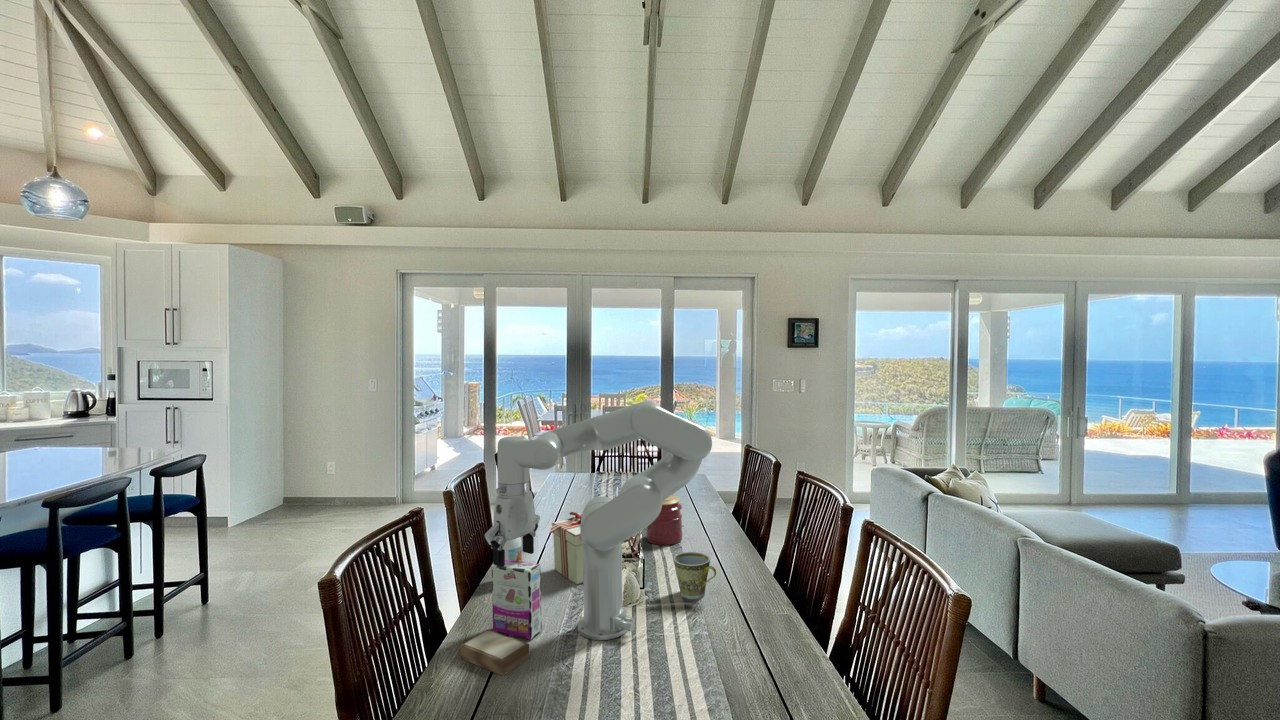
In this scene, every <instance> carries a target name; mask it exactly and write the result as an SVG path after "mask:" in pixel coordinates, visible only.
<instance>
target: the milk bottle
mask: <svg viewBox="0 0 1280 720" xmlns="http://www.w3.org/2000/svg"><path fill="white" fill-rule="evenodd" d="M500 541H501V539H500V540H499V542H498V543H500ZM503 549H504V550H505V560H512V561H520V562H523V543H522V539H521V537H519V538H516V539H514V540H510V541H508V540H507V541H506V543H505V545H504V547H503Z"/></svg>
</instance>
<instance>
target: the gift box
mask: <svg viewBox="0 0 1280 720" xmlns="http://www.w3.org/2000/svg"><path fill="white" fill-rule="evenodd" d="M568 514H569V515H570V516H572V517H570V518H567V519H563V520H558V521H555V522H554V521H553V522H551V527H550V530H549V534H553V553H554V554H553V557H554V559H553V560H554V571H556V572H557V573H559V574H561V575H562V576H563V577H565V578H567V579H568V580H569V581H570V582H572V583H574V584H575V585H580V584H583V540H582V538H581V533H580V526H581V518H582V513H579V512H574V511H571V512H569V513H568Z"/></svg>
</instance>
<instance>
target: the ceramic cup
mask: <svg viewBox="0 0 1280 720" xmlns="http://www.w3.org/2000/svg"><path fill="white" fill-rule="evenodd" d="M710 563H711V558H710V556H709V555H707V554H705V553H702V552H697V551H686V552H685V551H684V552H680V553H678V554H676V555H674V557H673V564H674V569H675V573H676V575H677V581H678V585H679V590H680V591H679V592H680V595H681V598H684V599H686V600H687V599H688V600H700V599H701V598H704V597H705V595H706V587H707V583H709V582H710V581H711V580H713V579H714V578H715V577H716V575H717V571H716V568H715V567H714V566H713V565H710ZM709 570H712V571H713V573H714V574H713V576H711V577H709V578H708V575H709Z"/></svg>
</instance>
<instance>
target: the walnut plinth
mask: <svg viewBox="0 0 1280 720" xmlns="http://www.w3.org/2000/svg"><path fill="white" fill-rule="evenodd" d="M459 650H460V659H461V660H463V661H466V662H468V663H471V664H473V665H476V666H477V667H480V668H483V669H485V670H487V671H490V672H492V673H494V674H498V675H500V676H502V677H504V675H506V674H507V673H509V672H511V671H512V670H513V669H515V668H516V667H518V666H519V665H521V664H522V663H524V662H525V661H527V660H528V659H529V658H530V644H529V643H527V642H524V641H521V640H519V639H516V638H515V637H512V636H509V635H505V634H500V633H497V632H494V631H493V630H490V629H489V628H488V629H486V630H484V631H482V632H480V633H479V634H477V635H475V636H473V637H472V638H470V639H468V640H467V641H465V642H463V643H462V644H460V647H459Z"/></svg>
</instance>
